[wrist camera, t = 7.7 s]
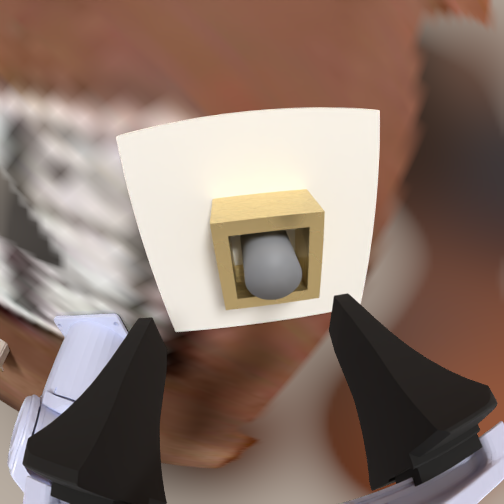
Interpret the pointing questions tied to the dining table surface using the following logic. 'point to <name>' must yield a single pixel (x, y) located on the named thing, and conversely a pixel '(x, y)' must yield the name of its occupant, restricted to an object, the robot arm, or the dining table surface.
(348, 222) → the post stand
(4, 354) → the architectural model
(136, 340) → the robot arm
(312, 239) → the wooden square ring
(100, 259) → the dining table surface
